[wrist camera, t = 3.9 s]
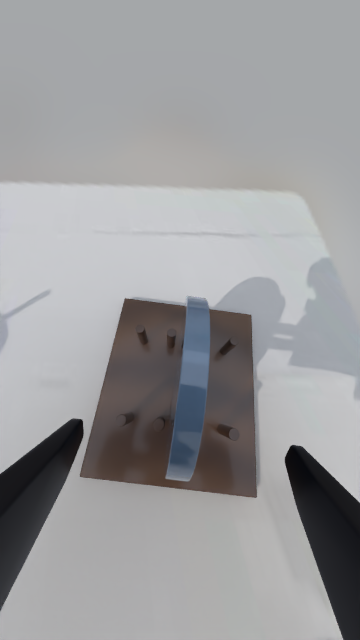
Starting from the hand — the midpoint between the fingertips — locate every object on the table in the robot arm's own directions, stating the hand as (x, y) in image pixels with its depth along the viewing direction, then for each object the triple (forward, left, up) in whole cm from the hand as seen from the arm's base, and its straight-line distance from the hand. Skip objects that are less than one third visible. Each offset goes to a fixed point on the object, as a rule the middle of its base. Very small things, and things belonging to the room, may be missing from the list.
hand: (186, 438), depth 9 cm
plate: (+2, +3, -10) cm, 10 cm away
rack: (+2, +3, -10) cm, 11 cm away
